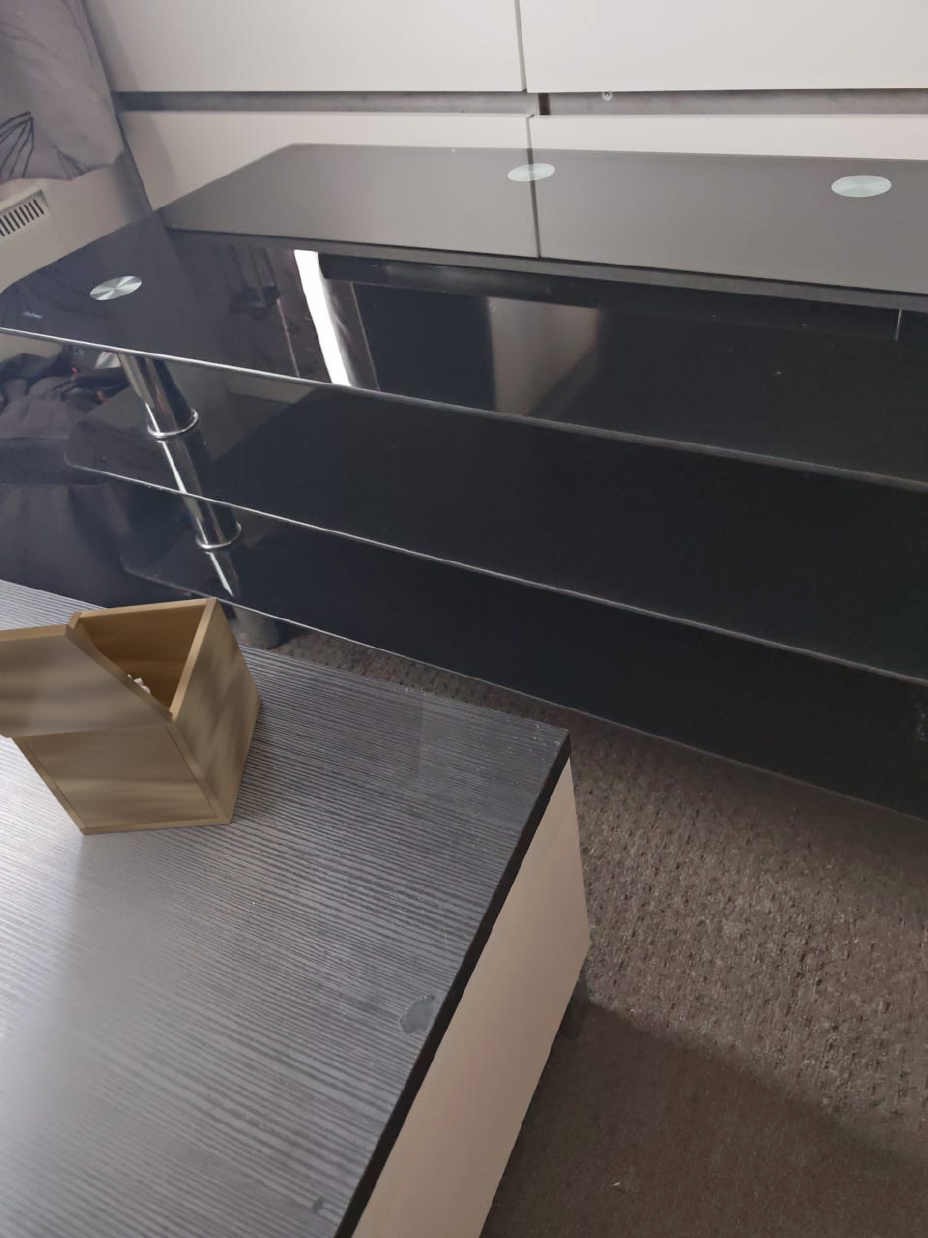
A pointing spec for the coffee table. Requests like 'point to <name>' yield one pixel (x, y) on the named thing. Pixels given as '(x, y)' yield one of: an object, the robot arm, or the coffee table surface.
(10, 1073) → the coffee table surface
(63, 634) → the lid
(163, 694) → the box
